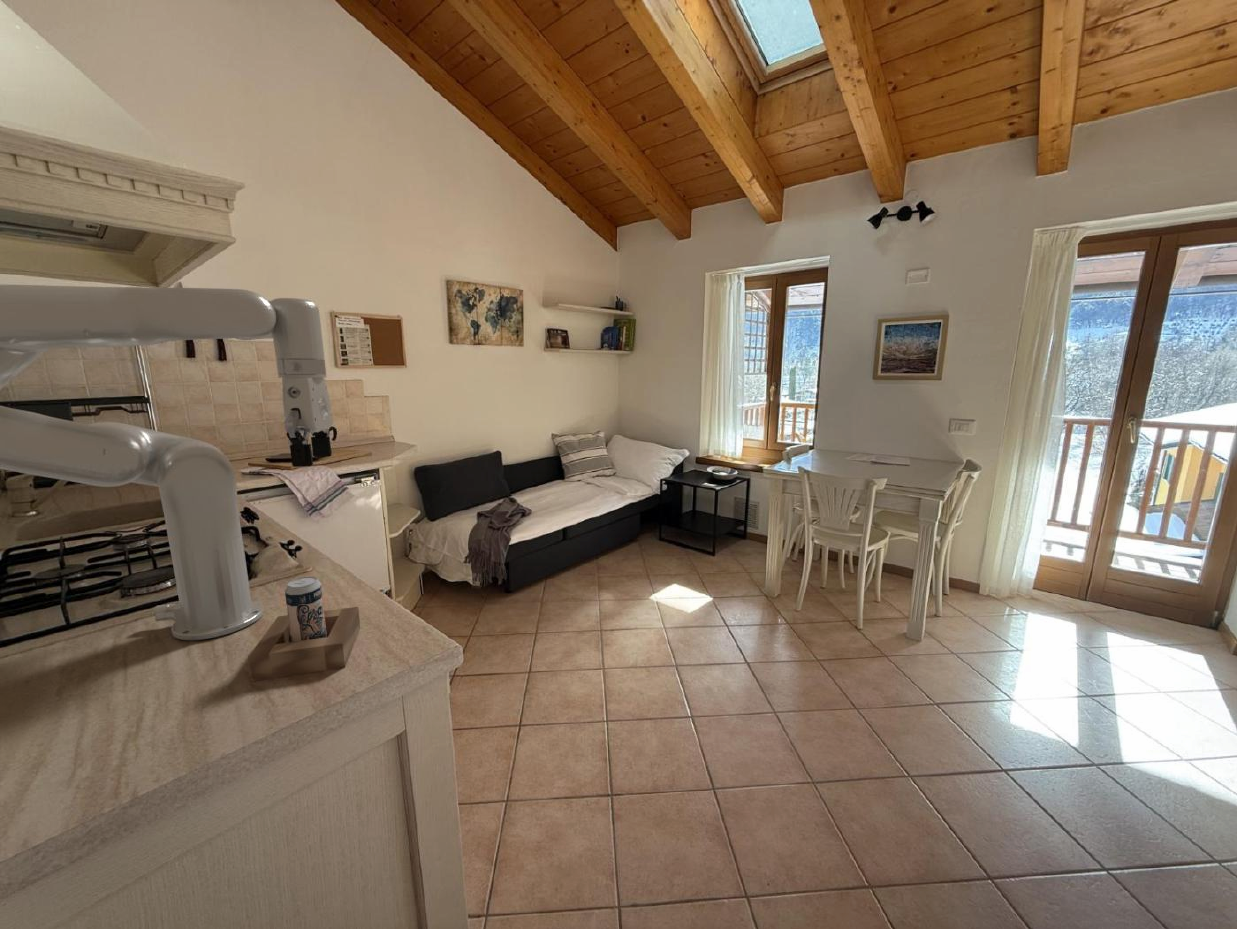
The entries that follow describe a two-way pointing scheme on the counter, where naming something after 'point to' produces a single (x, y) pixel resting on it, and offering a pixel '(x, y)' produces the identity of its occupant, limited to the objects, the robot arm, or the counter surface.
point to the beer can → (305, 609)
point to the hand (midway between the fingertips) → (313, 461)
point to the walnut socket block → (305, 647)
